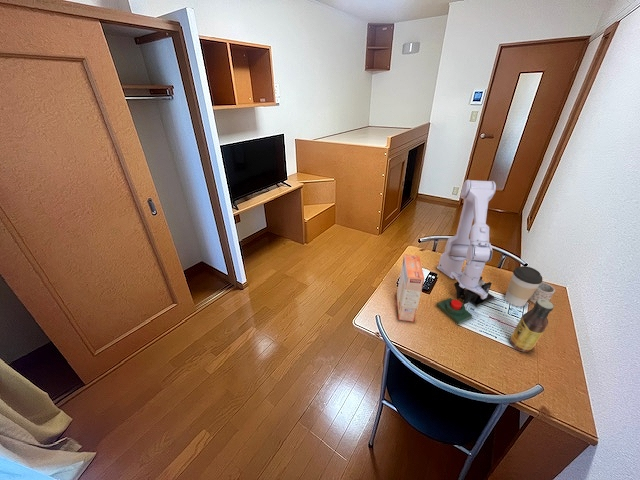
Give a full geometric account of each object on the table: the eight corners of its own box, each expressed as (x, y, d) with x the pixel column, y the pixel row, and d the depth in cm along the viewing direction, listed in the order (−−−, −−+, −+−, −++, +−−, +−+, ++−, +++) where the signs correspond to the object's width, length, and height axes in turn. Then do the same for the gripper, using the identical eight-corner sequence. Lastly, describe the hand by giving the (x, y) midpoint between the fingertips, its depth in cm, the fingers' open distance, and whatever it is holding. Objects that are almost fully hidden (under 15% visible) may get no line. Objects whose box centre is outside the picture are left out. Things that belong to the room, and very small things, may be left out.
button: (448, 304, 98) (449, 301, 98) (455, 301, 100) (456, 298, 99) (455, 311, 96) (457, 307, 95) (462, 308, 97) (464, 304, 96)
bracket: (476, 307, 101) (482, 291, 97) (459, 294, 107) (464, 278, 103) (493, 299, 105) (500, 283, 100) (476, 287, 111) (481, 271, 107)
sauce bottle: (510, 333, 90) (533, 291, 80) (532, 343, 87) (559, 300, 76) (507, 346, 86) (531, 303, 76) (530, 357, 83) (558, 313, 72)
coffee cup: (520, 293, 107) (536, 264, 99) (533, 309, 99) (551, 279, 92) (497, 291, 108) (510, 262, 100) (508, 307, 101) (523, 277, 93)
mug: (550, 301, 103) (558, 288, 99) (542, 308, 100) (550, 295, 96) (523, 287, 110) (529, 274, 107) (515, 293, 107) (521, 280, 104)
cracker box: (414, 322, 96) (425, 278, 85) (397, 320, 97) (406, 276, 86) (411, 296, 107) (420, 254, 96) (396, 294, 108) (403, 253, 97)
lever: (463, 302, 101) (463, 298, 99) (458, 298, 103) (458, 294, 101) (486, 286, 103) (486, 282, 101) (480, 282, 105) (480, 278, 103)
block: (436, 306, 102) (438, 300, 100) (449, 300, 104) (451, 294, 103) (457, 324, 94) (460, 318, 92) (471, 318, 97) (473, 311, 95)
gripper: (448, 265, 99) (440, 292, 107) (482, 288, 88) (471, 316, 95) (461, 260, 102) (452, 286, 109) (496, 282, 91) (484, 310, 98)
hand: (462, 300), depth 102 cm, fingers closed on lever, 2 cm apart
